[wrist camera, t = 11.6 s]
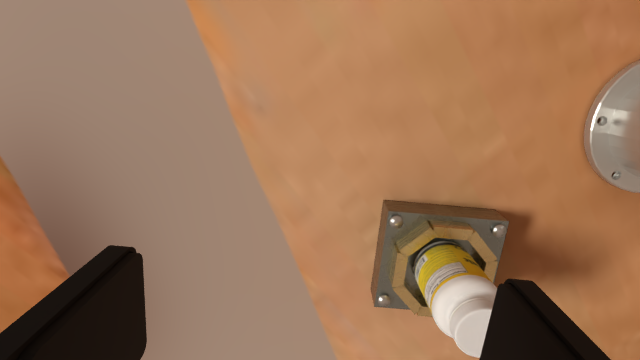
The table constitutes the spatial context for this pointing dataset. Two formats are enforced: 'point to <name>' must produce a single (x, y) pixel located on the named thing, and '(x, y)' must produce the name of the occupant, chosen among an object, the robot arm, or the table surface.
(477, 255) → the octagonal bottle holder
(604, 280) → the table surface
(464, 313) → the supplement bottle
